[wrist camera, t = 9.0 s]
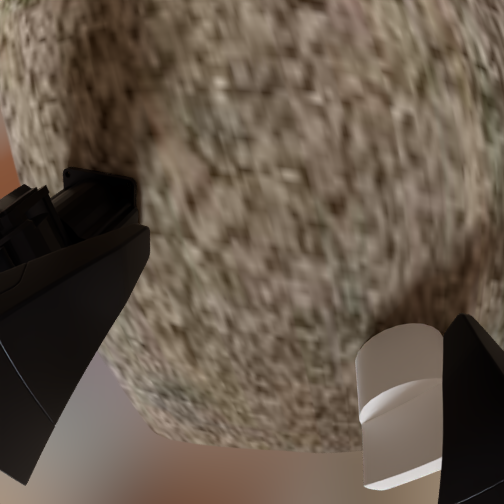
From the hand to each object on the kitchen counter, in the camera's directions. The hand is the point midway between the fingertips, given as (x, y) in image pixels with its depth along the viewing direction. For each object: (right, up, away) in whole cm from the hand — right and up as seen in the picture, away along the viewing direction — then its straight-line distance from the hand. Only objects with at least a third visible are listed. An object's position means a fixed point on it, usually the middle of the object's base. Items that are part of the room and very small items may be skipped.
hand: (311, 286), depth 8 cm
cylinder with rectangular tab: (+12, -9, +19) cm, 24 cm away
